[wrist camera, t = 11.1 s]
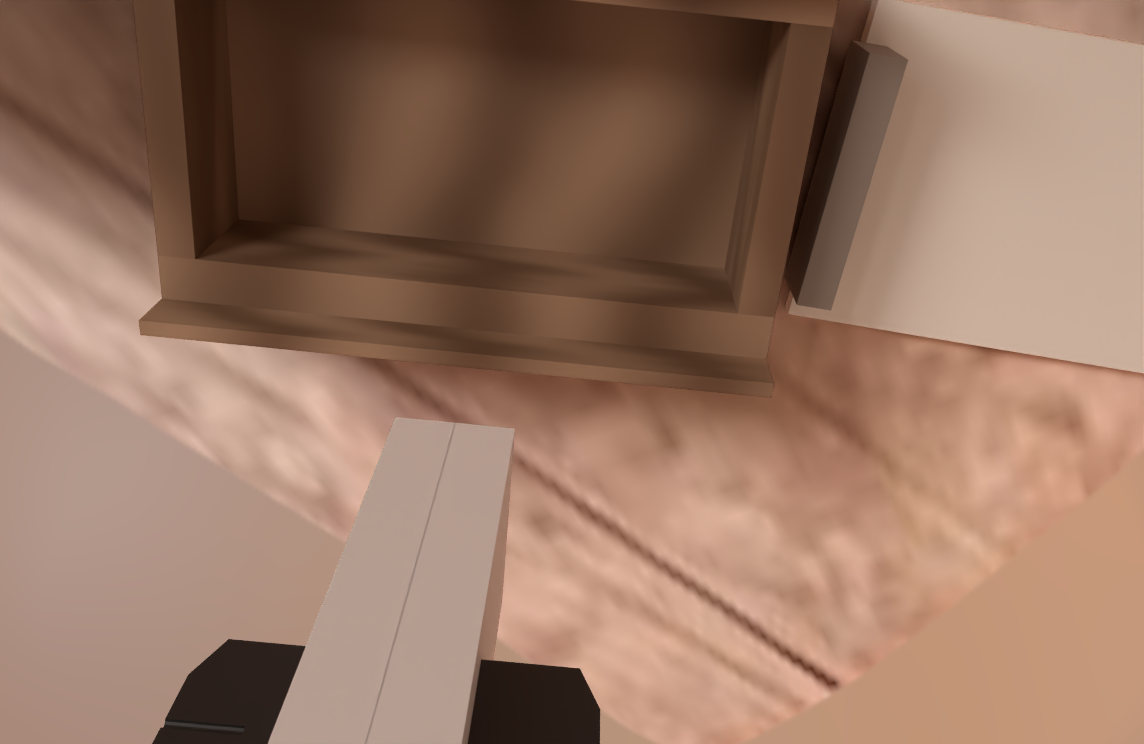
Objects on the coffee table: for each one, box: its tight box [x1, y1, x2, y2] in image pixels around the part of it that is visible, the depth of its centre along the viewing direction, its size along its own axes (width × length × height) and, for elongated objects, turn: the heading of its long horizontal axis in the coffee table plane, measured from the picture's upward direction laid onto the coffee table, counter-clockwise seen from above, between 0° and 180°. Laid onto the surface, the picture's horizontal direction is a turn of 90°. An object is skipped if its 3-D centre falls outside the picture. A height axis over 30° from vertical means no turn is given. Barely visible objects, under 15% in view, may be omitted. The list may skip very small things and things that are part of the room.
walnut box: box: [133, 0, 839, 398], centre depth 31 cm, size 20×13×7 cm, turn 85°
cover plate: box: [785, 0, 1144, 373], centre depth 34 cm, size 18×11×4 cm, turn 81°
